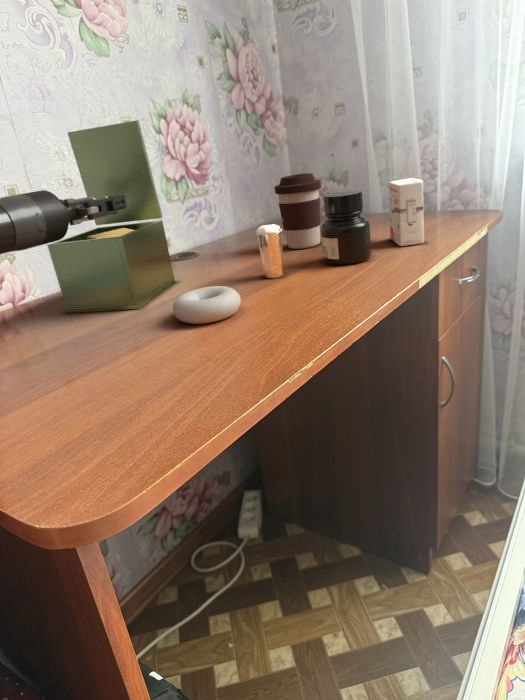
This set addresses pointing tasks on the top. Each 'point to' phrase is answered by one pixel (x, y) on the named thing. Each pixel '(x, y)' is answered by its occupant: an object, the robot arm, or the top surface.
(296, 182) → the coffee cup
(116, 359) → the top surface
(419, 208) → the ink box
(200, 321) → the donut
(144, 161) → the bin lid
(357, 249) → the ink bottle
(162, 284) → the bin
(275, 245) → the milkshake
